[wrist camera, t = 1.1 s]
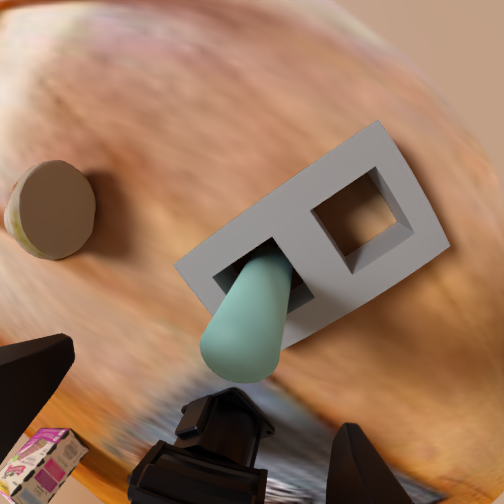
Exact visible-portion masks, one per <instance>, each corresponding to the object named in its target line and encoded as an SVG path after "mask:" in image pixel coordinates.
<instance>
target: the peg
mask: <svg viewBox="0 0 504 504" xmlns="http://www.w3.org/2000/svg"><path fill="white" fill-rule="evenodd" d="M292 273H293V265H292V264H291V262H290V261H289V259H288V258H287V257H286V255H285V254H284V252H283V251H282V250H281V248H279V247H276V246H264V247H261V248H259V249H257V250H256V251H255V252H254V253H253V254H252V255H251V257H250V258H249V260H248V262H247V263H246V265H245V266H244V268H243V270H242V271H241V273H240V275H239V276H238V278H237V279H236V281H235V283H234V284H233V286H232V287H231V289H230V291H229V292H228V294H227V295H226V297H225V299H224V300H223V302H222V304H221V305H220V307H219V308H218V310H217V312H216V313H215V315H214V316H213V318H212V320H211V321H210V323H209V324H208V326H207V328H206V329H205V331H204V333H203V335H202V337H201V341H200V350H201V354H202V357H203V359H204V361H205V363H206V364H207V365H208V367H209V368H210V369H211V370H212V371H213V372H215V373H216V374H217V375H219V376H220V377H222V378H224V379H226V380H229V381H232V382H236V383H254V382H258V381H261V380H263V379H265V378H267V377H268V376H269V375H270V374H272V373H273V371H274V370H275V369H276V367H277V365H278V362H279V356H280V350H281V344H282V338H283V332H284V326H285V320H286V313H287V307H288V300H289V294H290V287H291V280H292Z"/></svg>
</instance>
